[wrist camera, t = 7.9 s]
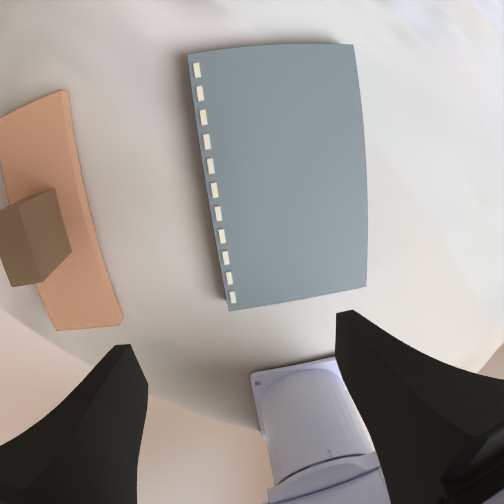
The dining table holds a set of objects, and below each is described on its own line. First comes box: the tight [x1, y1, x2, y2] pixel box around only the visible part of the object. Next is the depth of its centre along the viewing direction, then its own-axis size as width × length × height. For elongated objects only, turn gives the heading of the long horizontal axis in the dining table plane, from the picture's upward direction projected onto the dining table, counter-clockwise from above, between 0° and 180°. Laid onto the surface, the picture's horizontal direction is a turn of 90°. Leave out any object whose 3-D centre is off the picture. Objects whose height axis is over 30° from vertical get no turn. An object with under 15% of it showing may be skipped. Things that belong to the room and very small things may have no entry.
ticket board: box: [187, 43, 368, 311], centre depth 17 cm, size 15×9×1 cm, turn 7°
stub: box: [0, 90, 123, 331], centre depth 14 cm, size 15×5×5 cm, turn 7°
